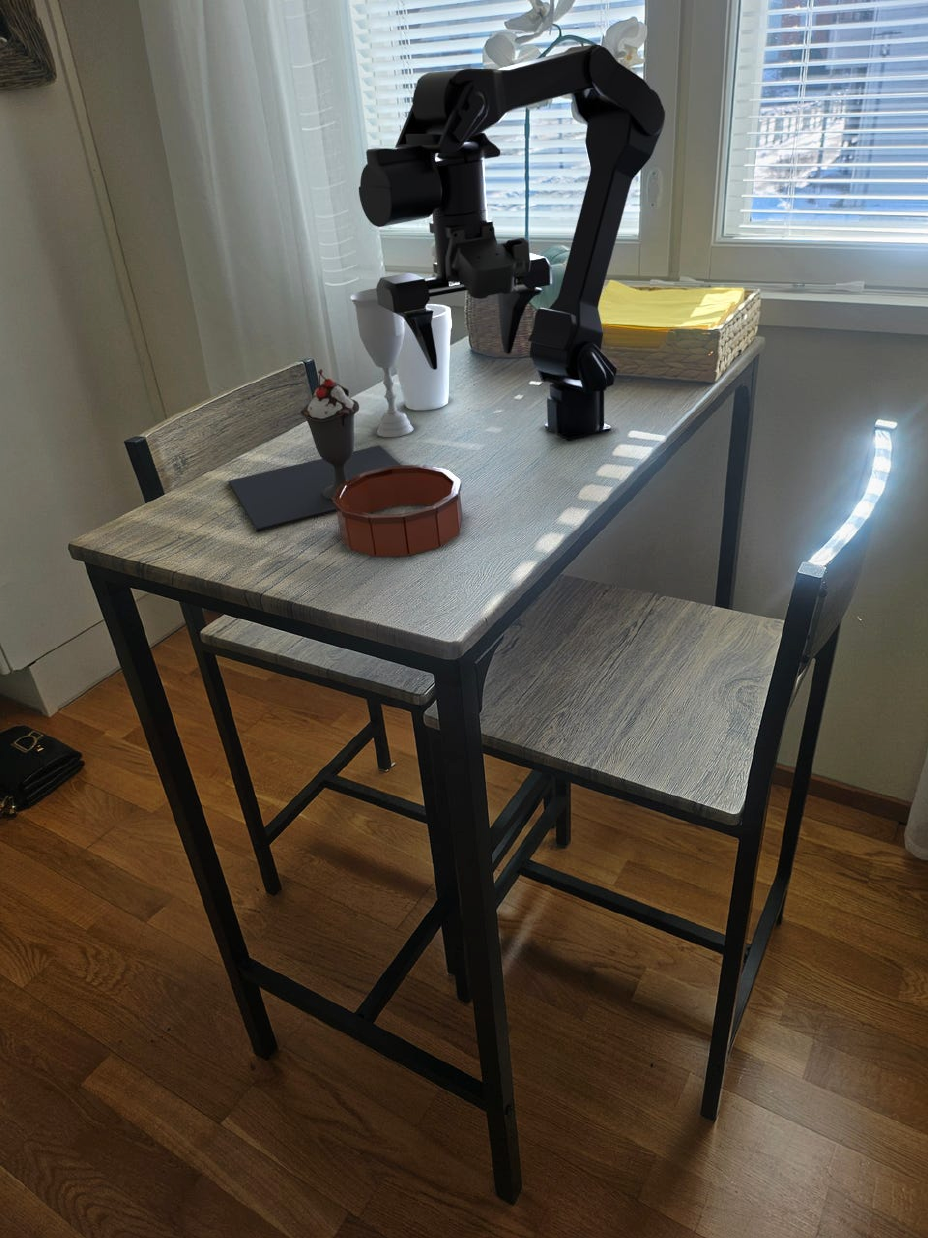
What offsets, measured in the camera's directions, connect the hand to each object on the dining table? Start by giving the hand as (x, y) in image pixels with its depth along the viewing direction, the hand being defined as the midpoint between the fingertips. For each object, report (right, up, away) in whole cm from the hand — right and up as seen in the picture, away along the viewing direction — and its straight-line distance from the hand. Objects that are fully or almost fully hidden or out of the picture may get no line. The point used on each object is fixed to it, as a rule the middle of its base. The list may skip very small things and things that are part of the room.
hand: (471, 360), depth 100 cm
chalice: (-10, -4, +21) cm, 23 cm away
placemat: (-18, -13, +6) cm, 23 cm away
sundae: (-15, -15, +3) cm, 21 cm away
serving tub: (-7, -20, -5) cm, 22 cm away
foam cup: (-6, +2, +30) cm, 30 cm away
